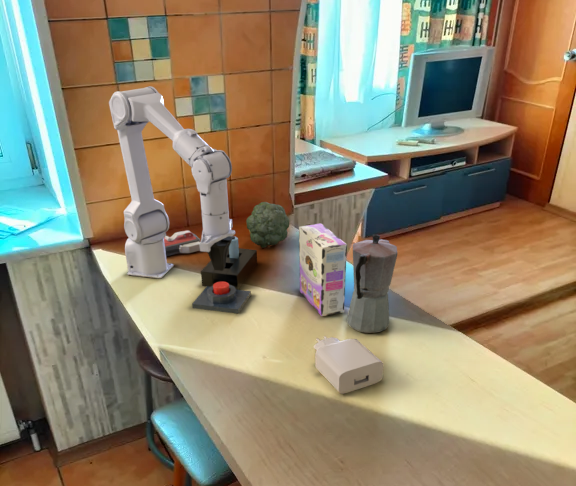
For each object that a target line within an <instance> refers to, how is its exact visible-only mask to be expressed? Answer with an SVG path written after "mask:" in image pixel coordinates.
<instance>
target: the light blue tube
mask: <svg viewBox="0 0 576 486" xmlns="http://www.w3.org/2000/svg"><path fill="white" fill-rule="evenodd" d="M229 256H230V258H237V259H238V258H239V238H238V237H237V236H235V235H234V236H232V241H231V244H230V246H229Z"/></svg>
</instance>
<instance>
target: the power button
mask: <svg viewBox="0 0 576 486" xmlns="http://www.w3.org/2000/svg"><path fill="white" fill-rule="evenodd" d="M213 290H214V294H218V295H223V294H227V293H229V284H228V283H227V282H216V283H215V284H214V285H213Z"/></svg>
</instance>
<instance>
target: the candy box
mask: <svg viewBox="0 0 576 486" xmlns="http://www.w3.org/2000/svg"><path fill="white" fill-rule="evenodd" d="M298 251H299V252H298V255H299V256H298V257H299V260H298V261H299V262H298V263H299V264H298V265H299V292H300V293H301V295H302V296H303V297H304V298H305V299H306V300H307V301H308V302H309V304H310V305H311V306H312V307H313V308H314V309H315V311H316V312H317V313H318V314H319V315H320V317H325V316H326V317H327V316H331V315H336V314H341V313H345V302H346V301H345V300H346V299H345V298H346V297H345V296H346V277H347V275H346V274H347V273H346V272H347V256H348V255H347V252H348V244H347V243H346V242H345V241H343V240H342V239H341V238H340V237H339V236H337V235H336V234H335V233H334V232H333V231H331V230H330V229H329V228H328V227H326V226H325V225H324V224H323V223H314V224H306V225H301V226H299V227H298Z"/></svg>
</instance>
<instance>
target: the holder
mask: <svg viewBox="0 0 576 486" xmlns="http://www.w3.org/2000/svg"><path fill="white" fill-rule="evenodd" d="M257 265H258V250H257V249H250V248H241V247H240V248H239V258H238V259H237V258H230V256H229V249H228V253H227V258H226V265H225V269H224V270H223V271H219V270H214V268H213V265H212V262H211V260H209V261H208V262H207V264H206V265H204V267H203V268H202V269H201V271H200V279H201V287H205V288H206V287H207V286H209V287H211V286H213V285H214V284H215V283H216V282H227V283H228V284H229V285H232V286H234V287H235V288H236V290H240V288H241V287H242V285H243V284H244V283H245V281H246V280H247V279H248V277H249V276H250V275H251V274H252V273H253V270H254V269H255V268H256V267H257Z"/></svg>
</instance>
